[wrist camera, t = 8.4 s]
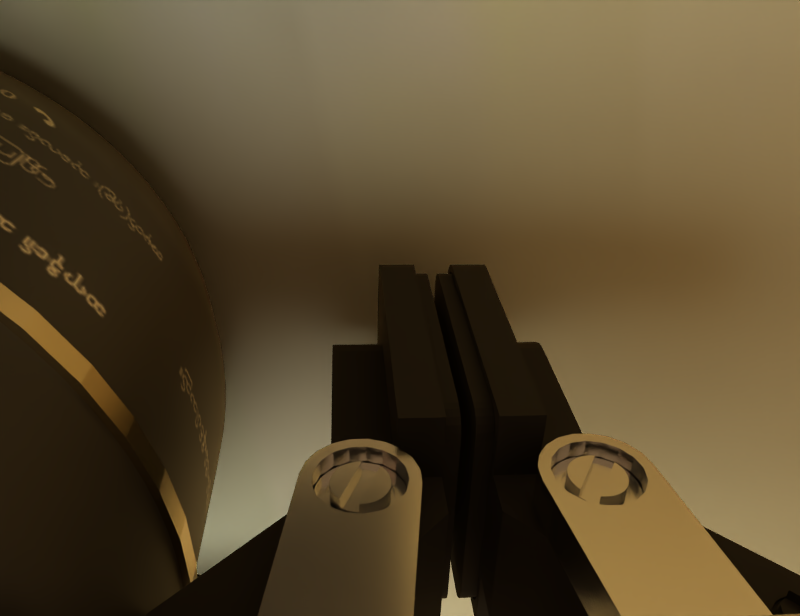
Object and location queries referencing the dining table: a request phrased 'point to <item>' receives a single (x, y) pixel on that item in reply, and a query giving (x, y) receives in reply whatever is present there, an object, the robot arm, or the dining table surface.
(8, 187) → the jar
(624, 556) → the robot arm
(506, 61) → the dining table surface
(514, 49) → the dining table surface
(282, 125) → the dining table surface
